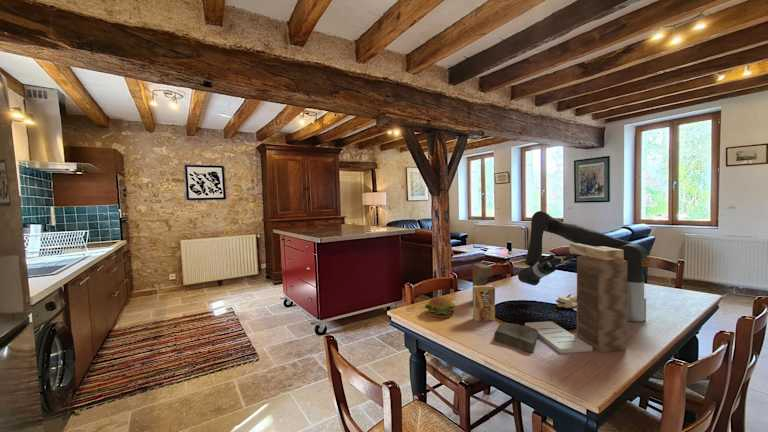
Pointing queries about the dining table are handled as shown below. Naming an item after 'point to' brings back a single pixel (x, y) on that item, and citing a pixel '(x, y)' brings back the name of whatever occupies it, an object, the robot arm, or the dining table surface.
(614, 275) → the zigzag patterned tall block
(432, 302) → the food
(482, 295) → the candy box
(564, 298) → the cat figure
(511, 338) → the marble piece
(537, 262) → the robot arm
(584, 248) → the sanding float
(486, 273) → the decorative block
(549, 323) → the grey board
